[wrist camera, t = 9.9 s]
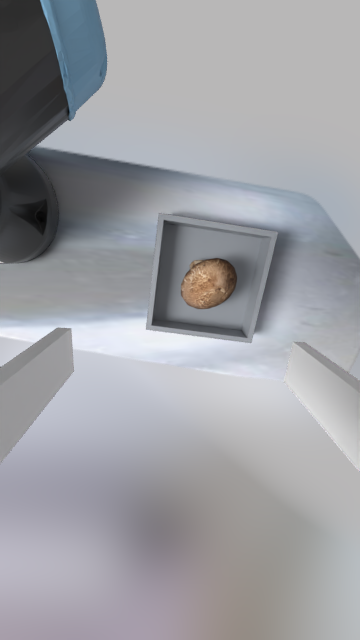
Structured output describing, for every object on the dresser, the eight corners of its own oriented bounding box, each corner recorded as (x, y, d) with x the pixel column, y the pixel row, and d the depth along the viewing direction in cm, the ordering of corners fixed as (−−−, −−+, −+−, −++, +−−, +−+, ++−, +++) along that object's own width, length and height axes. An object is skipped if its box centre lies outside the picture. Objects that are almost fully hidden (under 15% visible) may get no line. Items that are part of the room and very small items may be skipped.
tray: (148, 321, 37) (145, 329, 33) (160, 217, 33) (158, 212, 29) (243, 334, 38) (251, 343, 34) (266, 234, 34) (278, 231, 30)
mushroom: (177, 244, 30) (197, 272, 26) (229, 243, 33) (254, 268, 29) (168, 292, 36) (184, 321, 32) (213, 288, 39) (232, 314, 35)
